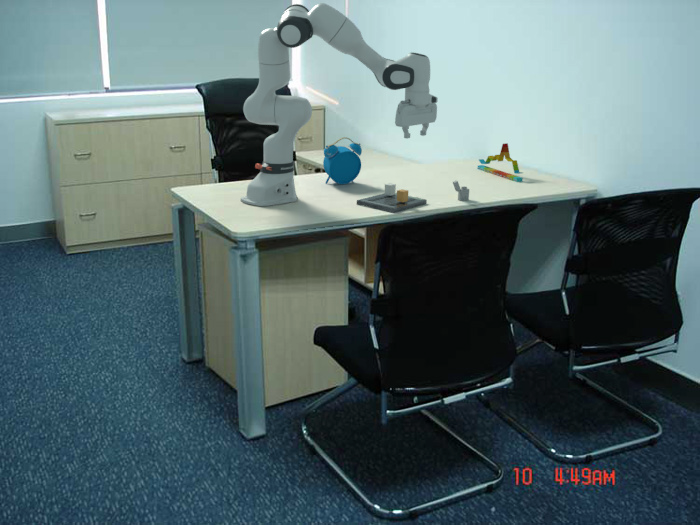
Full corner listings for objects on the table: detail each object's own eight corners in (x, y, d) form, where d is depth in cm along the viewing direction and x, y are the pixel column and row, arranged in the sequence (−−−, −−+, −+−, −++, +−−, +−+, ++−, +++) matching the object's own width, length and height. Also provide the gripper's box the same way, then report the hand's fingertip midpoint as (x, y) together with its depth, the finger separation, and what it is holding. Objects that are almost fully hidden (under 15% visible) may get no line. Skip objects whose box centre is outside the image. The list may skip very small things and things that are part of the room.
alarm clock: (353, 179, 327) (354, 133, 320) (364, 184, 318) (365, 137, 312) (317, 182, 320) (318, 135, 313) (327, 187, 311) (328, 139, 305)
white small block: (390, 195, 291) (390, 185, 290) (384, 194, 293) (384, 184, 292) (395, 194, 293) (395, 184, 292) (389, 193, 295) (389, 183, 294)
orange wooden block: (403, 202, 281) (403, 191, 280) (396, 201, 283) (397, 190, 282) (407, 201, 284) (408, 190, 282) (401, 199, 285) (402, 189, 284)
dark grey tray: (393, 212, 274) (394, 208, 274) (356, 204, 286) (356, 200, 285) (426, 203, 289) (426, 199, 288) (389, 195, 300) (389, 191, 299)
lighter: (466, 198, 297) (467, 179, 295) (468, 199, 296) (470, 179, 293) (451, 200, 294) (452, 180, 292) (453, 201, 293) (455, 181, 290)
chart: (476, 169, 355) (479, 137, 350) (482, 169, 357) (484, 137, 352) (516, 182, 329) (519, 148, 324) (522, 182, 330) (525, 148, 326)
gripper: (405, 101, 266) (403, 141, 271) (440, 97, 280) (438, 134, 285) (391, 100, 270) (390, 138, 275) (427, 96, 284) (425, 132, 289)
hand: (415, 136), depth 280 cm, fingers open, 8 cm apart
